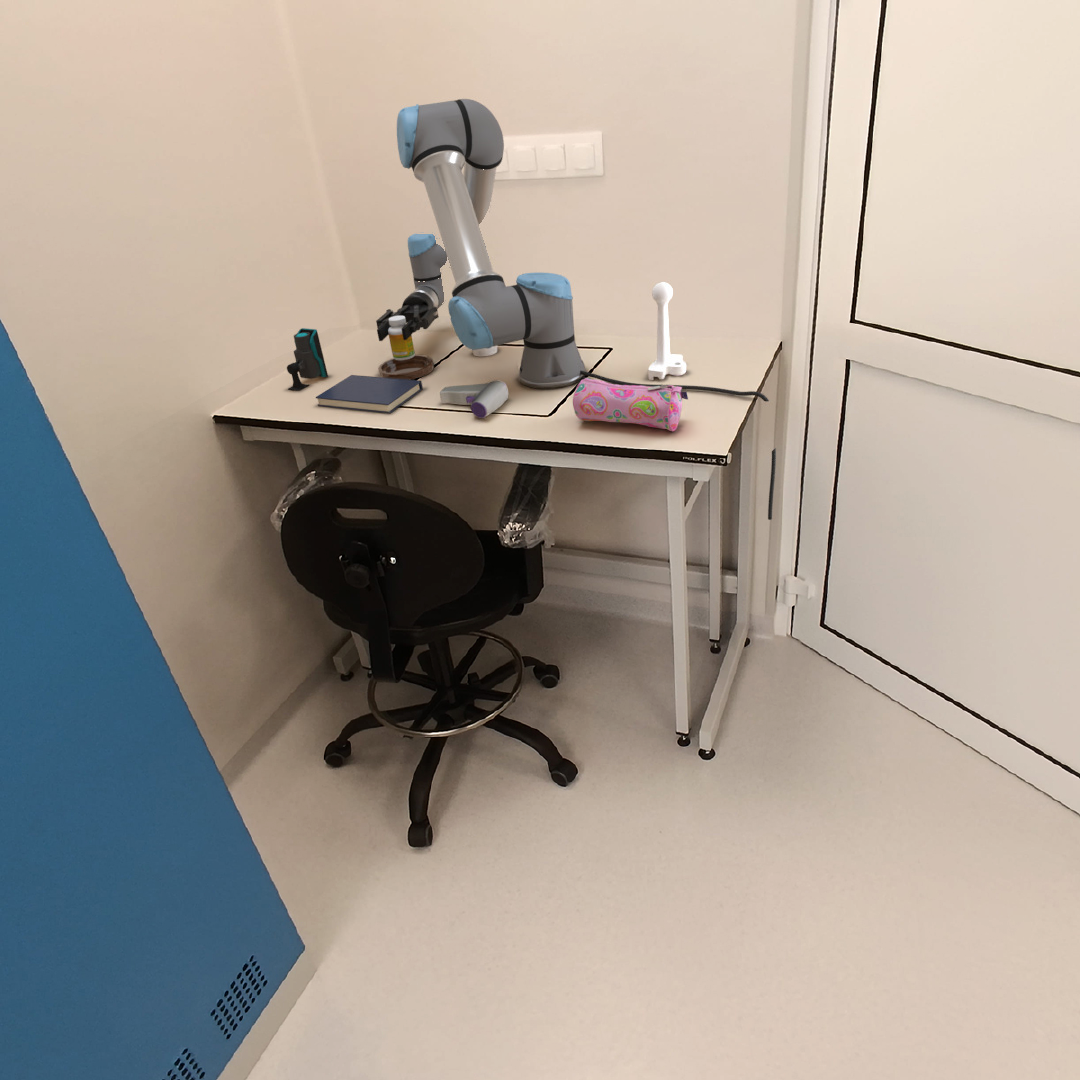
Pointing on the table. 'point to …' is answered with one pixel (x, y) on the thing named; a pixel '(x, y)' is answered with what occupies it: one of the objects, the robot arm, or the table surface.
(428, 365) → the brown round tray
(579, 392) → the pencil case
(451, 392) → the infrared thermometer
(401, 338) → the supplement bottle
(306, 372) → the surveillance camera
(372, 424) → the table surface
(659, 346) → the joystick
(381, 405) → the book
